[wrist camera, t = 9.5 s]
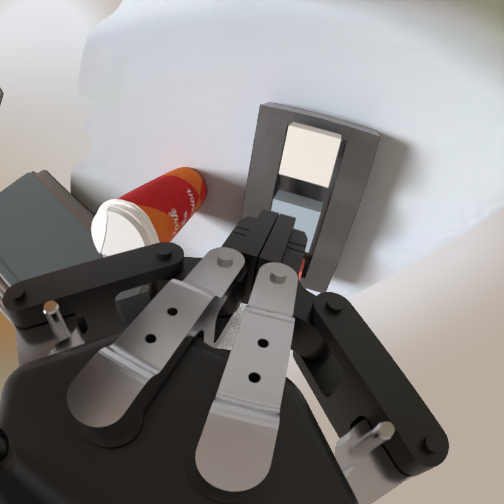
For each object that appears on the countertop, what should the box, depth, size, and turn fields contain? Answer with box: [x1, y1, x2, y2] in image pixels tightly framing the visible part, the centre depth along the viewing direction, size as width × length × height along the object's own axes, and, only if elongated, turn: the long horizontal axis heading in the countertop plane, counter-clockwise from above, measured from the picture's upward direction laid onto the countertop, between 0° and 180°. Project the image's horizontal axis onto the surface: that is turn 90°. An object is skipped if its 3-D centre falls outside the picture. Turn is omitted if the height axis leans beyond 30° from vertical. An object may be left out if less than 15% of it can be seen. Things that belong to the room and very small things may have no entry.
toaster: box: [0, 170, 143, 323], centre depth 44 cm, size 19×35×20 cm, turn 54°
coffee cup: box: [91, 167, 207, 257], centre depth 33 cm, size 8×8×15 cm
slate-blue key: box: [271, 190, 323, 253], centre depth 30 cm, size 4×4×5 cm
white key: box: [279, 122, 341, 188], centre depth 26 cm, size 4×4×5 cm
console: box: [241, 102, 380, 293], centre depth 33 cm, size 20×12×4 cm, turn 171°
